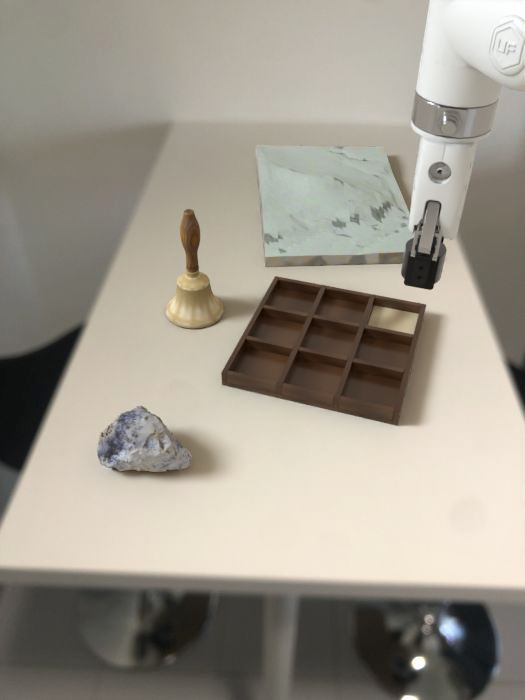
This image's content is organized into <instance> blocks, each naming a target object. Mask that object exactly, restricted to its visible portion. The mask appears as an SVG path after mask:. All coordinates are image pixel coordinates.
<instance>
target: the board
mask: <svg viewBox="0 0 525 700" xmlns="http://www.w3.org/2000/svg"><path fill="white" fill-rule="evenodd" d="M426 309H427V303H421V302H416V301H410V300H406V299H405V300H404V299H401V298H394V297H389V296H384V295H379V294H373V293H368V292H362V291H358V290H352V289H346V288H340V287H336V286H330V285H327V284H326V285H325V284H321V283H315V282H310V281H309V282H308V281H303V280H299V279H293V278H287V277H284V276H277V275H275V276H274V278H273V279H272V281H271V283H270V284H269V285H268V288H267V290H266V291H265V293H264V295H263V297H262V299H261V300H260V302H259V305H258V306H257V308H256V310H255V311H254V313H253V315H252V317H251V318H250V320H249V322H248V324H247V326H246V327H245V329H244V331H243V333H242V335H241V336H240V338H239V340H238V342H237V344H236V345H235V346H234V349H233V351H232V353H231V355H230V356H229V358H228V360H227V362H226V363H225V365H224V367H223V369H221V370H222V371H221V372H220V375H221V376H220V377H221V385H222V386H226V387H231V388H234V389H238V390H243V391H248V392H251V393H255V394H260V395H264V396H269V397H273V398H277V399H282V400H286V401H291V402H293V403H299V404H304V405H306V406H307V405H308V406H311V407H316V408H319V409H325V410H328V411H334V412H338V413H342V414H346V415H351V416H355V417H358V418H363V419H367V420H372V421H377V422H380V423H385V424H389V425H393V426H398V425H399V421H400V417H401V414H402V410H403V409H402V408H403V405H404V401H405V396H406V392H407V388H408V384H409V381H410V376H411V371H412V368H413V364H414V360H415V355H416V351H417V349H418V348H417V347H418V343H419V340H420V335H421V331H422V327H423V323H424V320H425V319H424V318H425V314H426Z"/></svg>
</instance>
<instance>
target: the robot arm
mask: <svg viewBox="0 0 525 700" xmlns="http://www.w3.org/2000/svg"><path fill="white" fill-rule="evenodd" d="M428 1H429V2H428V8H427V15H426V16H427V17H426V21H425V28H424V35H423V40H422V46H421V53H420V59H419V66H418V73H417V80H416V85H415V91H414V97H413V105H412V109H411V110H412V111H411V117H410V118H411V119H410V128H411V129H412V131H413V132H414V133H416V134H417V135H418V136H420V140H419V145H418V151H417V158H416V163H415V165H416V166H415V170H414V177H413V185H412V192H411V200H410V208H409V209H410V210H409V213H410V218H409V230H410V232H411V233H412V234H413V233H414V232H415V235H414V240H413V245H412V250H411V252H409V256H408V261H407V267H406V273H405V278H403V284H404V286H405V287H412V288H417V289H423V290H428V291H432V290H433V289H434V288H435V284H436V283H435V278H436V274H437V269H438V264H439V259H440V257H438V252H439V248H440V243H441V242H442V243H443V244H444V240H445V239H449V241H453V240H455V239H456V238H457V236H458V233H459V228H460V224H461V220H462V215H463V211H464V207H465V203H466V198H467V193H468V190H469V185H470V181H471V177H472V172H473V167H474V163H475V158H476V151H477V146H478V142H481V141H482V142H483V141H484V140H486V139H487V138H489V137H490V135H491V132H492V128H493V124H494V119H495V115H496V112H497V108H498V104H499V103H498V102H499V100H500V99H499V98H500V95H501V91H502V87H504V88H507V89H509V90H513V91H517V92H525V0H428ZM419 237H421V238H420V242H419ZM433 238H434V239H436V242H435V246H434V244H432V242H433ZM434 283H435V284H434Z"/></svg>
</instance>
